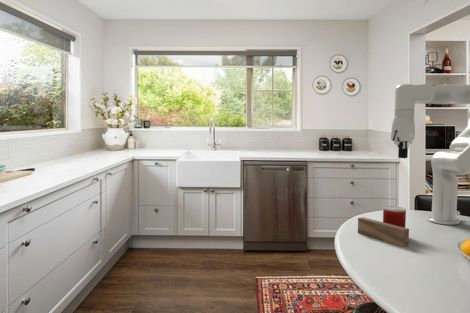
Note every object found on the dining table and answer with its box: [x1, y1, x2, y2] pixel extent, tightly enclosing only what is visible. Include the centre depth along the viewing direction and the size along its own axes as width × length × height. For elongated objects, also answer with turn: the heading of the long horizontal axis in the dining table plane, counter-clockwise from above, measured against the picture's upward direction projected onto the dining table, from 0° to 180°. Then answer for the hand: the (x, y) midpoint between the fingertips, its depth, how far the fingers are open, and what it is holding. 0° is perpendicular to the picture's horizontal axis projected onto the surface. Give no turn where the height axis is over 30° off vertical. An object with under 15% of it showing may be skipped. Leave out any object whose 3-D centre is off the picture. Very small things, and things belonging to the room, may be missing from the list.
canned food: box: [382, 205, 407, 228], centre depth 140 cm, size 8×8×11 cm
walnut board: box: [357, 216, 410, 247], centre depth 137 cm, size 3×20×6 cm, turn 31°
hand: (402, 157), depth 153 cm, fingers closed
